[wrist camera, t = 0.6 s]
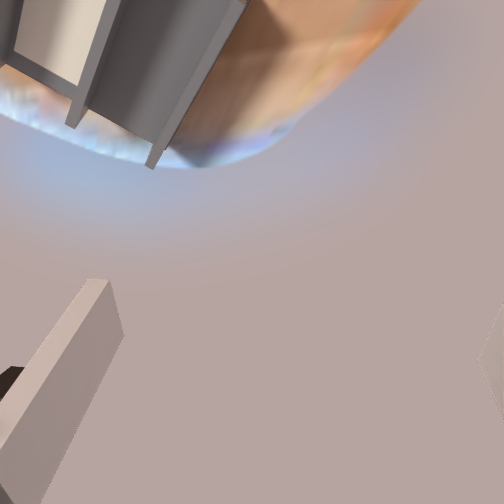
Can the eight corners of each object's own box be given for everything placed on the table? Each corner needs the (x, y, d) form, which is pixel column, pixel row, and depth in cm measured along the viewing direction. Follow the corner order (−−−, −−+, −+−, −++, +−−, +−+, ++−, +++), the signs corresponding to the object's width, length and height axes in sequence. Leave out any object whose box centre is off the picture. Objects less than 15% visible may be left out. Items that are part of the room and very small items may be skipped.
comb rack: (-93, -276, 22) (-165, -299, 18) (254, -11, 29) (250, 9, 26) (-97, -5, 31) (-145, 15, 27) (168, 141, 39) (157, 172, 35)
